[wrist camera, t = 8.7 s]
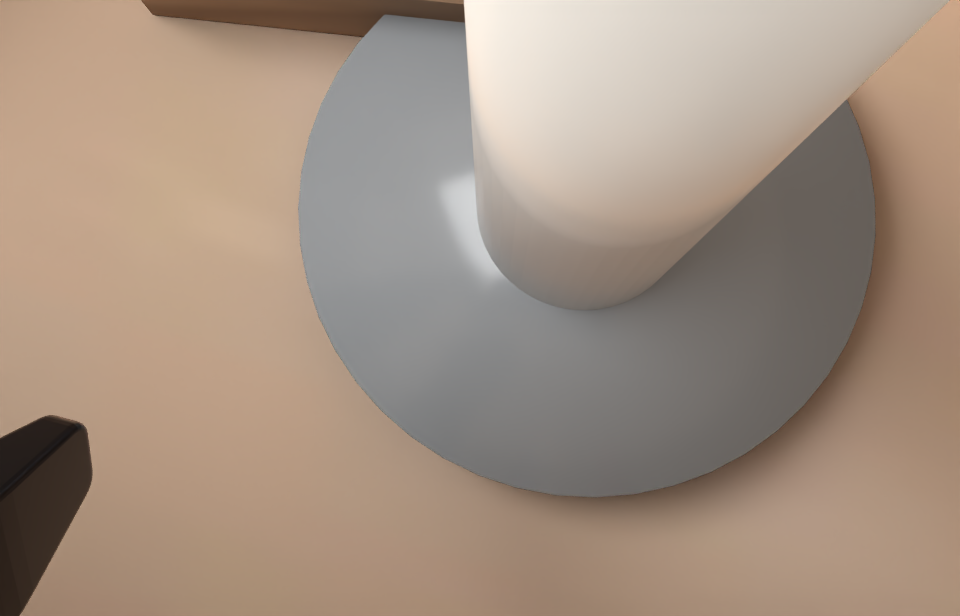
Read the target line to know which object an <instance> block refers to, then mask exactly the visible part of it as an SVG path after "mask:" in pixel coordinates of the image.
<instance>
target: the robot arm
mask: <svg viewBox="0 0 960 616" xmlns="http://www.w3.org/2000/svg"><path fill="white" fill-rule="evenodd" d="M91 481H92V463H91V455H90V447H89V440H88V433H87V429H86V428H85V426H84V425H83V424H82V423H80V422H77V421H73V420H70V419H66V418H63V417H59V416H54V415H48V416H45V417H42V418H39V419H37V420H35V421H33V422H31V423H29V424H27V425H25V426H23V427H21V428H19V429H17V430H15V431H13V432H11V433H9V434H7V435H5V436H3V437H1V438H0V616H20V614H21V613H22V611H23V610H24V608H25V606H26V604H27V603H28V601H29V599H30V597H31V596H32V594H33V592H34V590H35V589H36V587H37V585H38V583H39V581H40V579H41V577H42V576H43V574H44V572H45V570H46V568H47V566H48V565H49V563H50V561H51V559H52V557H53V555H54V554H55V552H56V550H57V548H58V546H59V544H60V542H61V541H62V539H63V537H64V535H65V533H66V531H67V530H68V528H69V526H70V524H71V522H72V520H73V518H74V517H75V515H76V513H77V511H78V509H79V507H80V506H81V504H82V502H83V500H84V498H85V496H86V494H87V492H88V490H89V488H90V485H91Z"/></svg>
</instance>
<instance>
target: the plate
mask: <svg viewBox="0 0 960 616" xmlns="http://www.w3.org/2000/svg"><path fill="white" fill-rule="evenodd" d="M298 210H299V230H300V246H301V252H302V257H303V262H304V268H305V273H306V278H307V283H308V286H309V289H310V292H311V295H312V298H313V301H314V304H315V307H316V310H317V313H318V316H319V318H320V320H321V322H322V324H323V326H324V328H325V331H326V333H327V335H328V337H329V339H330V341H331V343H332V345H333V347H334V349H335V351H336V352H337V354H338V355H339V357H340V358H341V360H342V361H343V363H344V364H345V366H346V367H347V369H348V370H349V372H350V373H351V375H352V376H353V378H354V379H355V381H356V382H357V384H358V385H359V386H360V387H361V388H362V389H363V390H364V392H365V393H366V394H367V395H368V396H369V397H370V398H371V399H372V401H373V402H374V403H375V404H376V405H377V406H378V407H379V409H380V410H381V411H382V412H383V413H384V414H386V415H387V416H388V417H389V418H390V419H391V420H392V421H394V422H395V423H396V424H397V425H398V426H399V427H401V428H402V429H403V430H404V431H405V432H406V433H407V434H409V435H410V436H411V437H412V438H414V439H415V440H417V441H418V442H420V443H421V444H423V445H424V446H426V447H427V448H429V449H430V450H432V451H434V452H435V453H437V454H438V455H440V456H441V457H443V458H444V459H446V460H448V461H450V462H452V463H455V464H457V465H459V466H461V467H463V468H465V469H467V470H469V471H471V472H473V473H475V474H477V475H479V476H482V477H485V478H488V479H491V480H494V481H497V482H501V483H504V484H507V485H510V486H513V487H516V488H520V489H525V490H531V491H536V492H541V493H547V494H552V495H561V496H580V497H606V496H618V495H631V494H638V493H643V492H647V491H652V490H656V489H661V488H665V487H670V486H674V485H677V484H680V483H682V482H685V481H688V480H691V479H693V478H696V477H699V476H702V475H704V474H707V473H710V472H712V471H714V470H716V469H718V468H719V467H721V466H723V465H725V464H727V463H729V462H731V461H733V460H735V459H737V458H738V457H740V456H742V455H744V454H746V453H747V452H749V451H750V450H751V449H753V448H754V447H755V446H757V445H758V444H760V443H761V442H762V441H764V440H765V439H767V438H768V437H769V436H771V435H772V434H774V433H775V432H776V431H777V430H778V429H780V428H781V427H782V426H783V425H784V424H785V423H786V422H787V421H788V420H789V419H790V418H791V417H792V416H793V415H794V414H795V413H796V412H797V411H798V410H799V409H801V408H802V407H803V406H804V405H805V403H806V402H807V401H808V400H809V398H810V397H811V396H812V395H813V393H814V392H815V391H816V390H817V388H818V387H819V386H820V385H821V383H822V382H823V381H824V379H825V378H826V377H827V376H828V374H829V373H830V371H831V369H832V367H833V366H834V364H835V362H836V361H837V359H838V357H839V356H840V354H841V352H842V350H843V349H844V347H845V345H846V344H847V342H848V339H849V337H850V335H851V332H852V330H853V327H854V325H855V323H856V320H857V318H858V315H859V313H860V311H861V308H862V304H863V301H864V297H865V293H866V289H867V285H868V282H869V278H870V274H871V268H872V260H873V251H874V243H875V196H874V190H873V183H872V177H871V170H870V164H869V160H868V156H867V153H866V149H865V146H864V142H863V139H862V136H861V132H860V129H859V126H858V124H857V121H856V119H855V117H854V115H853V112H852V110H851V108H850V106H849V103H848V101H847V99H846V100H845V101H844V102H843V103H842V104H841V105H840V106H839V107H838V108H837V109H836V110H835V111H834V112H833V113H832V114H831V115H830V116H829V117H828V118H827V119H826V120H825V121H824V122H823V123H821V124H820V125H819V126H818V127H817V128H816V129H815V130H814V131H813V132H812V133H811V134H810V135H809V136H808V137H807V138H806V139H805V140H804V141H803V142H802V143H801V144H800V145H799V146H798V147H796V148H795V149H794V150H793V151H792V152H791V153H790V154H789V155H788V156H787V157H786V158H785V159H784V160H783V161H782V162H781V163H780V164H779V165H778V166H777V167H776V168H775V169H774V170H772V171H771V172H770V173H769V174H768V175H767V176H766V177H765V178H764V179H763V180H762V181H761V182H760V183H759V184H758V185H757V186H756V187H755V188H754V189H753V190H752V191H751V192H750V193H749V194H747V195H746V196H745V197H744V198H743V199H742V200H741V201H740V202H739V203H738V204H737V205H736V206H735V207H734V208H733V209H732V210H731V211H730V212H729V213H728V214H727V215H726V216H725V217H724V218H722V219H721V220H720V221H719V222H718V223H717V224H716V225H715V226H714V227H713V228H712V229H711V230H710V231H709V232H708V233H707V234H706V235H705V236H704V237H703V238H702V239H701V240H700V241H699V242H697V243H696V244H695V245H694V246H693V247H692V248H691V249H690V250H689V251H688V252H687V253H686V254H685V255H684V256H683V257H682V258H681V259H680V260H679V261H678V262H677V263H676V264H675V265H673V266H672V267H671V268H670V269H669V270H668V271H667V272H666V273H665V274H664V275H663V276H662V277H661V278H660V279H659V280H658V281H657V282H656V283H654V284H653V285H652V286H651V287H650V288H649V289H647V290H646V291H644V292H643V293H641V294H640V295H638V296H636V297H634V298H632V299H631V300H629V301H627V302H624V303H621V304H618V305H615V306H612V307H607V308H603V309H596V310H571V309H565V308H560V307H556V306H552V305H549V304H546V303H543V302H541V301H539V300H537V299H535V298H533V297H531V296H529V295H528V294H526V293H524V292H523V291H521V290H520V289H518V288H517V287H516V286H515V285H514V284H512V283H511V282H510V281H509V280H508V279H507V278H506V277H505V276H504V275H503V274H502V273H501V271H500V270H499V269H498V268H497V266H496V265H495V263H494V262H493V260H492V259H491V257H490V255H489V253H488V251H487V249H486V248H485V245H484V242H483V240H482V237H481V234H480V229H479V225H478V219H477V206H476V190H475V174H474V158H473V142H472V125H471V109H470V93H469V77H468V60H467V44H466V28H465V23H463V22H453V21H444V20H434V19H424V18H415V17H405V16H396V15H386V14H385V15H384V16H383V17H382V18H381V19H380V20H379V21H378V22H377V23H376V24H375V25H374V26H373V27H372V28H371V30H370V31H369V32H368V33H367V34H366V35H365V36H364V37H363V38H362V39H361V40H360V42H359V43H358V44H357V46H356V47H355V48H354V50H353V51H352V53H351V54H350V55H349V57H348V58H347V60H346V61H345V63H344V64H343V65H342V67H341V68H340V70H339V71H338V73H337V75H336V77H335V79H334V80H333V82H332V84H331V86H330V88H329V90H328V92H327V94H326V96H325V98H324V100H323V101H322V103H321V106H320V109H319V112H318V114H317V117H316V120H315V123H314V125H313V128H312V131H311V133H310V136H309V140H308V145H307V149H306V154H305V158H304V163H303V167H302V172H301V183H300V195H299V207H298Z"/></svg>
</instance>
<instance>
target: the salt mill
mask: <svg viewBox="0 0 960 616" xmlns="http://www.w3.org/2000/svg"><path fill="white" fill-rule="evenodd" d="M949 1H950V0H464V12H465V28H466V44H467V60H468V77H469V93H470V109H471V125H472V142H473V158H474V174H475V190H476V206H477V219H478V225H479V229H480V234H481V237H482V240H483V242H484V245H485V248H486V249H487V251H488V253H489V255H490V257H491V259H492V260H493V262H494V263H495V265H496V266H497V268H498V269H499V270H500V271H501V273H502V274H503V275H504V276H505V277H506V278H507V279H508V280H509V281H510V282H511V283H512V284H514V285H515V286H516V287H517V288H518V289H520V290H521V291H523V292H524V293H526V294H528V295H529V296H531V297H533V298H535V299H537V300H539V301H541V302H543V303H546V304H549V305H552V306H556V307H560V308H565V309H571V310H596V309H603V308H607V307H612V306H615V305H618V304H621V303H624V302H627V301H629V300H631V299H632V298H634V297H636V296H638V295H640V294H641V293H643V292H644V291H646V290H647V289H649V288H650V287H651V286H652V285H653V284H654V283H656V282H657V281H658V280H659V279H660V278H661V277H662V276H663V275H664V274H665V273H666V272H667V271H668V270H669V269H670V268H671V267H672V266H673V265H675V264H676V263H677V262H678V261H679V260H680V259H681V258H682V257H683V256H684V255H685V254H686V253H687V252H688V251H689V250H690V249H691V248H692V247H693V246H694V245H695V244H696V243H697V242H699V241H700V240H701V239H702V238H703V237H704V236H705V235H706V234H707V233H708V232H709V231H710V230H711V229H712V228H713V227H714V226H715V225H716V224H717V223H718V222H719V221H720V220H721V219H722V218H724V217H725V216H726V215H727V214H728V213H729V212H730V211H731V210H732V209H733V208H734V207H735V206H736V205H737V204H738V203H739V202H740V201H741V200H742V199H743V198H744V197H745V196H746V195H747V194H749V193H750V192H751V191H752V190H753V189H754V188H755V187H756V186H757V185H758V184H759V183H760V182H761V181H762V180H763V179H764V178H765V177H766V176H767V175H768V174H769V173H770V172H771V171H772V170H774V169H775V168H776V167H777V166H778V165H779V164H780V163H781V162H782V161H783V160H784V159H785V158H786V157H787V156H788V155H789V154H790V153H791V152H792V151H793V150H794V149H795V148H796V147H798V146H799V145H800V144H801V143H802V142H803V141H804V140H805V139H806V138H807V137H808V136H809V135H810V134H811V133H812V132H813V131H814V130H815V129H816V128H817V127H818V126H819V125H820V124H821V123H823V122H824V121H825V120H826V119H827V118H828V117H829V116H830V115H831V114H832V113H833V112H834V111H835V110H836V109H837V108H838V107H839V106H840V105H841V104H842V103H843V102H844V101H845V100H846V99H848V98H849V97H850V96H851V95H852V94H853V93H854V92H855V91H856V90H857V89H858V88H859V87H860V86H861V85H862V84H863V83H864V82H865V81H866V80H867V79H868V78H869V77H870V76H871V75H873V74H874V73H875V72H876V71H877V70H878V69H879V68H880V67H881V66H882V65H883V64H884V63H885V62H886V61H887V60H888V59H889V58H890V57H891V56H892V55H893V54H894V53H895V52H897V51H898V50H899V49H900V48H901V47H902V46H903V45H904V44H905V43H906V42H907V41H908V40H909V39H910V38H911V37H912V36H913V35H914V34H915V33H916V32H917V31H918V30H919V29H920V28H922V27H923V26H924V25H925V24H926V23H927V22H928V21H929V20H930V19H931V18H932V17H933V16H934V15H935V14H936V13H937V12H938V11H939V10H940V9H941V8H942V7H943V6H944V5H945V4H947V3H948V2H949Z"/></svg>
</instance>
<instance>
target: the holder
mask: <svg viewBox="0 0 960 616" xmlns="http://www.w3.org/2000/svg"><path fill="white" fill-rule="evenodd" d="M141 1H142V2H143V3H144V4H145V6H146V7H147V8H148V9H149V11H150V12H151V13H152V14H153V15H162V16H172V17H181V18H191V19H200V20H210V21H219V22H229V23H238V24H248V25H257V26H267V27H276V28H286V29H295V30H305V31H314V32H324V33H333V34H343V35H352V36H362V37H364V36H365V35H366V34H367V33H368V32H369V31H370V30H371V28H372V27H373V26H374V25H375V24H376V23H377V22H378V21H379V20H380V19H381V18H382V17H383V16H384V15H385V14H386V15H396V16H405V17H415V18H424V19H434V20H444V21H453V22H463V23H465V12H464V0H141Z"/></svg>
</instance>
